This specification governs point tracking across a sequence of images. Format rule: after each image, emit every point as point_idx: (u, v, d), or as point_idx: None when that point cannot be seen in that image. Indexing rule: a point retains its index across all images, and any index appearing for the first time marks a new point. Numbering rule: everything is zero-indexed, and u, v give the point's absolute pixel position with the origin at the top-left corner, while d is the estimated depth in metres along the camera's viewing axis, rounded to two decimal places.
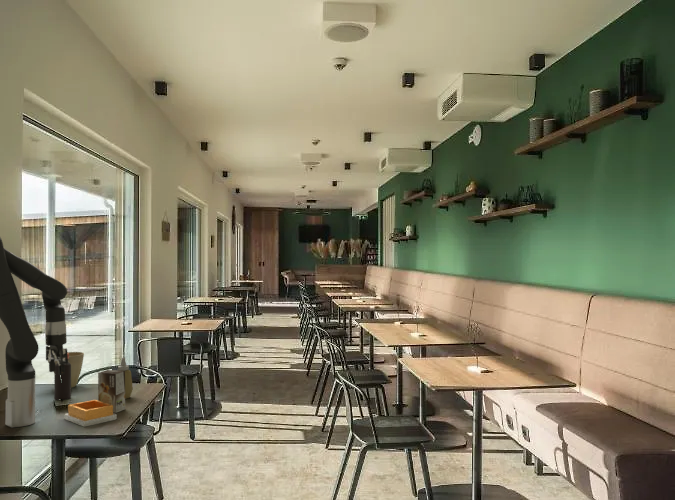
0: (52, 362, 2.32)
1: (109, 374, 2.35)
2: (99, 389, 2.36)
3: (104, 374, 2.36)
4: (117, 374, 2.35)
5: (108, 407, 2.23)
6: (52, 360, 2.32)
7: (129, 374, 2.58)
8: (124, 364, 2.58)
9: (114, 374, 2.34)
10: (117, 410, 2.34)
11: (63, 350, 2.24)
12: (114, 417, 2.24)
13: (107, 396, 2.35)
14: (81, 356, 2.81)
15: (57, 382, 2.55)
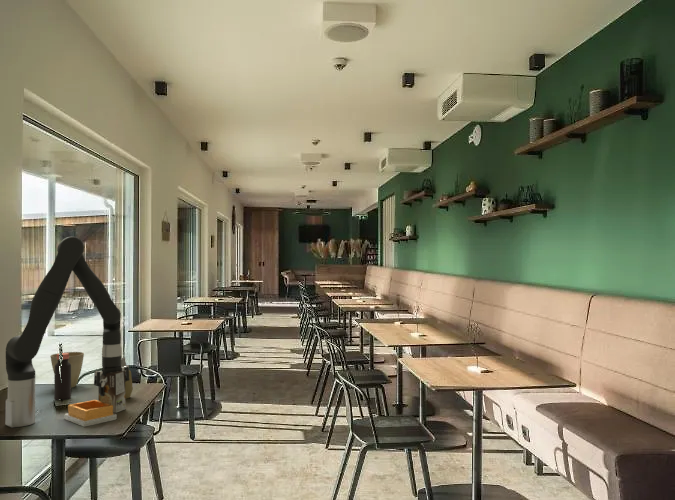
0: None
1: (109, 374, 2.35)
2: None
3: None
4: (117, 374, 2.35)
5: (108, 407, 2.23)
6: None
7: (129, 374, 2.58)
8: (124, 364, 2.58)
9: (114, 374, 2.34)
10: (117, 410, 2.34)
11: None
12: (114, 417, 2.24)
13: (107, 396, 2.35)
14: (81, 356, 2.81)
15: (57, 382, 2.55)
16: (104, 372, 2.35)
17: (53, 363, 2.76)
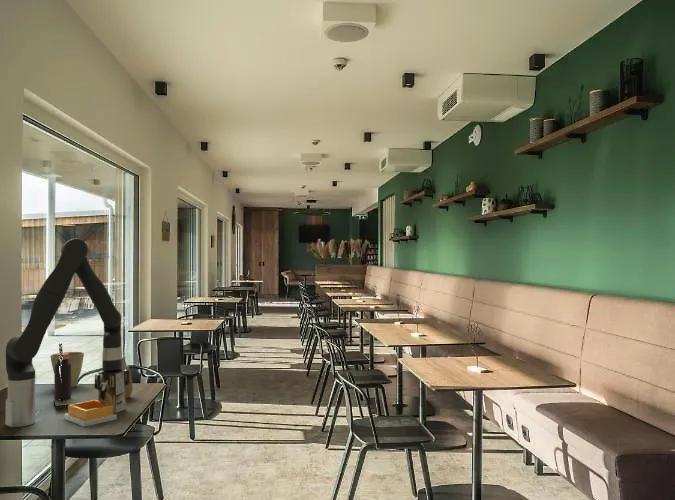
0: None
1: (109, 374, 2.35)
2: None
3: None
4: (117, 374, 2.35)
5: (108, 407, 2.23)
6: None
7: (129, 374, 2.58)
8: (124, 364, 2.58)
9: (114, 374, 2.34)
10: (117, 409, 2.34)
11: None
12: (114, 417, 2.24)
13: (107, 396, 2.35)
14: (81, 356, 2.81)
15: (57, 382, 2.55)
16: (104, 375, 2.35)
17: (53, 363, 2.76)
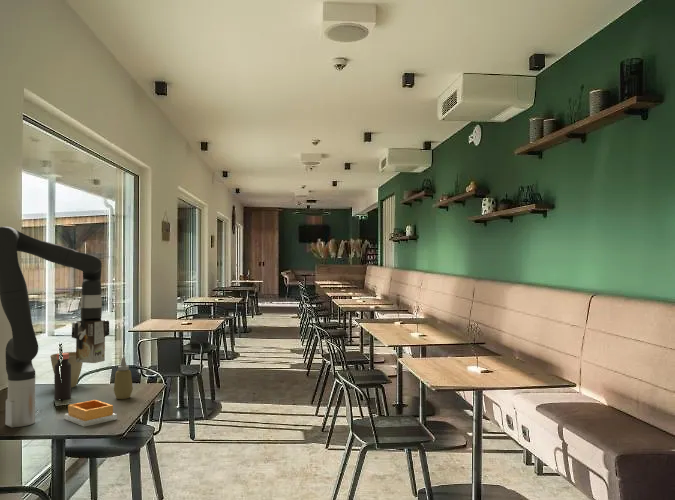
0: None
1: (88, 322, 2.22)
2: None
3: None
4: (96, 322, 2.22)
5: (108, 407, 2.23)
6: None
7: (129, 374, 2.58)
8: (124, 364, 2.58)
9: (92, 322, 2.22)
10: (95, 360, 2.21)
11: None
12: (114, 417, 2.24)
13: (85, 345, 2.22)
14: None
15: (57, 382, 2.55)
16: (82, 324, 2.22)
17: (53, 363, 2.76)
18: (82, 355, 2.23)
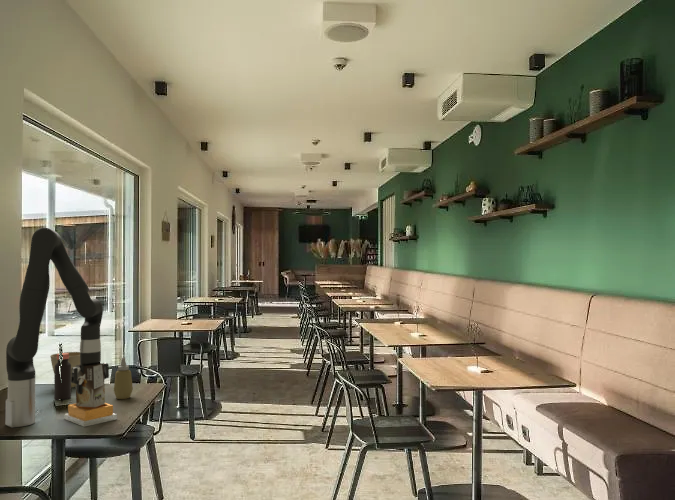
0: None
1: (86, 367, 2.22)
2: None
3: None
4: (95, 367, 2.22)
5: (108, 407, 2.23)
6: None
7: (129, 374, 2.58)
8: (124, 364, 2.58)
9: (91, 367, 2.21)
10: (95, 404, 2.21)
11: None
12: (114, 417, 2.24)
13: (85, 390, 2.22)
14: None
15: (57, 382, 2.55)
16: (82, 369, 2.22)
17: (53, 363, 2.76)
18: (82, 399, 2.23)
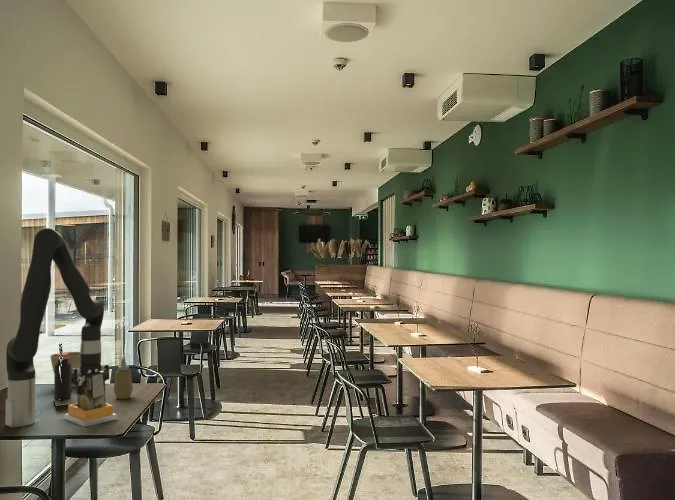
0: None
1: (86, 376, 2.21)
2: None
3: (82, 376, 2.23)
4: (94, 376, 2.21)
5: (108, 407, 2.23)
6: None
7: (129, 374, 2.58)
8: (124, 364, 2.58)
9: (90, 376, 2.20)
10: None
11: None
12: (114, 417, 2.24)
13: (85, 399, 2.22)
14: None
15: (57, 382, 2.55)
16: (82, 370, 2.21)
17: (53, 363, 2.76)
18: (82, 408, 2.23)
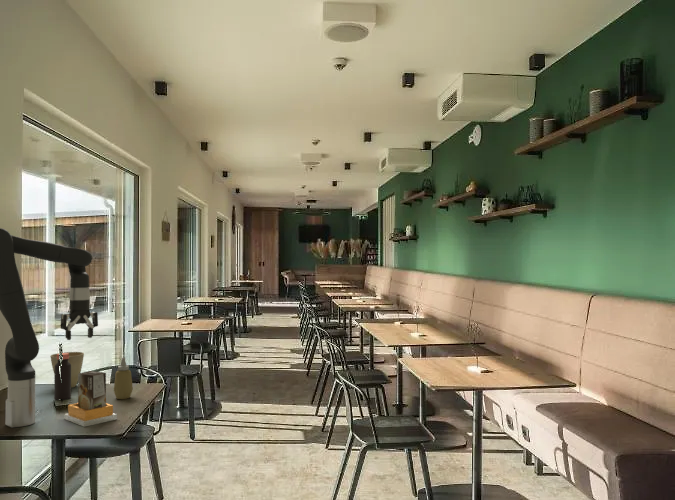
0: None
1: (87, 376, 2.22)
2: (79, 391, 2.24)
3: (83, 376, 2.23)
4: (95, 376, 2.22)
5: (108, 407, 2.23)
6: None
7: (129, 374, 2.58)
8: (124, 364, 2.58)
9: (91, 376, 2.21)
10: None
11: None
12: (114, 417, 2.24)
13: (85, 398, 2.22)
14: (81, 356, 2.81)
15: (57, 382, 2.55)
16: (71, 315, 2.30)
17: (53, 363, 2.76)
18: (83, 408, 2.23)
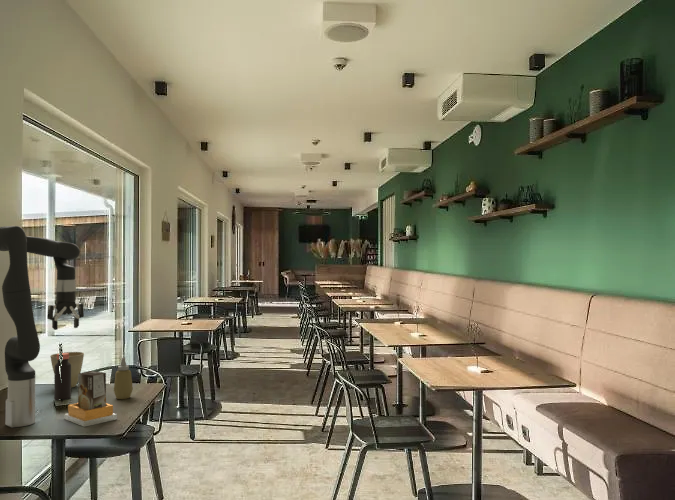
0: None
1: (87, 376, 2.22)
2: (79, 391, 2.24)
3: (83, 376, 2.23)
4: (95, 376, 2.22)
5: (108, 407, 2.23)
6: None
7: (129, 374, 2.58)
8: (124, 364, 2.58)
9: (91, 376, 2.21)
10: None
11: None
12: (114, 417, 2.24)
13: (85, 398, 2.22)
14: (81, 356, 2.81)
15: (57, 382, 2.55)
16: (58, 306, 2.40)
17: (53, 363, 2.76)
18: (83, 408, 2.23)
